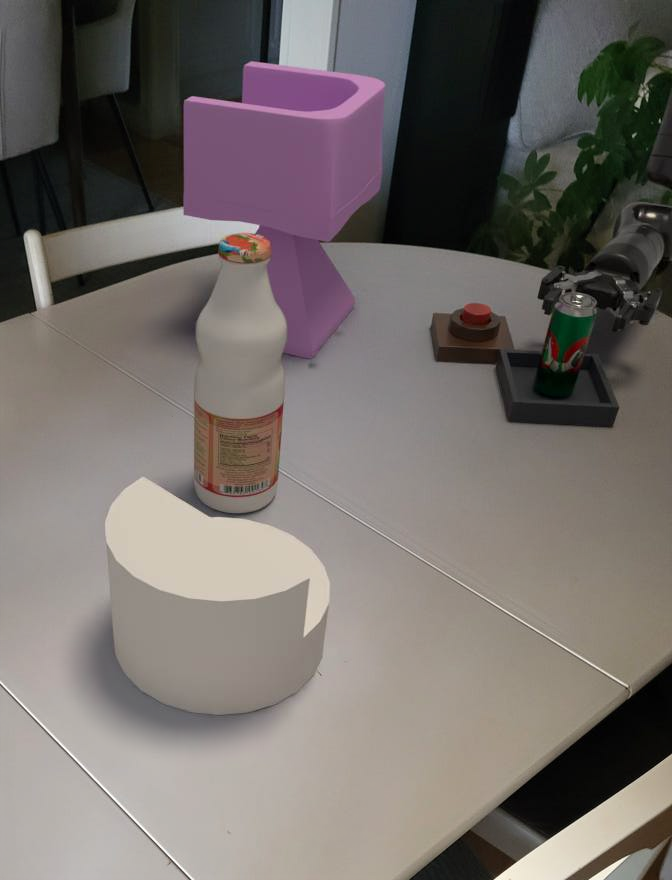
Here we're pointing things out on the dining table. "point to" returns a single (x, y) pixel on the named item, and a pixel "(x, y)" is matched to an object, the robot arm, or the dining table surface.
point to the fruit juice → (239, 382)
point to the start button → (476, 314)
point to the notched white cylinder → (211, 604)
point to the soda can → (565, 344)
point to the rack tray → (581, 407)
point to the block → (469, 338)
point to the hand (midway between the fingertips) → (582, 316)
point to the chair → (289, 179)
